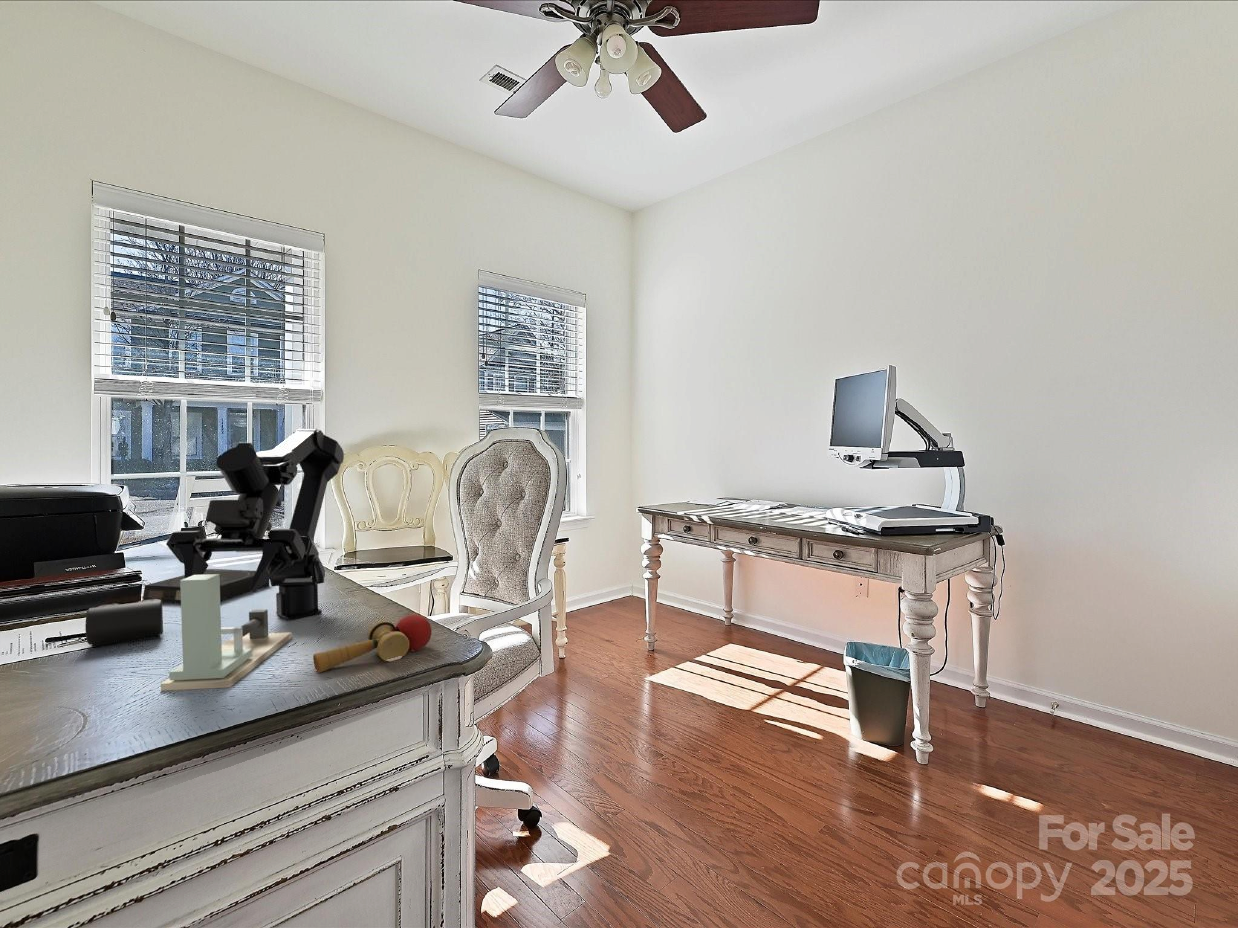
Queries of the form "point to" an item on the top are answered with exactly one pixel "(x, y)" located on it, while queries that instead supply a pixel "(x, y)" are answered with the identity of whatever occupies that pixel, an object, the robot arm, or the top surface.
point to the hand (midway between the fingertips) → (219, 592)
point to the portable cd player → (230, 580)
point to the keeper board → (255, 640)
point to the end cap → (124, 622)
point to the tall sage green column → (206, 632)
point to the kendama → (381, 642)
